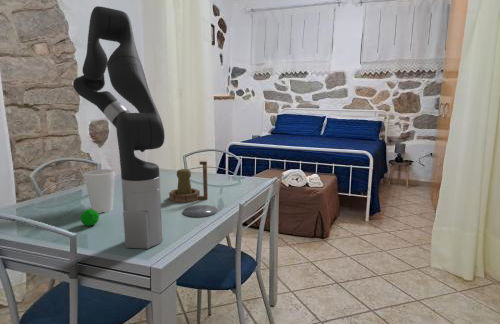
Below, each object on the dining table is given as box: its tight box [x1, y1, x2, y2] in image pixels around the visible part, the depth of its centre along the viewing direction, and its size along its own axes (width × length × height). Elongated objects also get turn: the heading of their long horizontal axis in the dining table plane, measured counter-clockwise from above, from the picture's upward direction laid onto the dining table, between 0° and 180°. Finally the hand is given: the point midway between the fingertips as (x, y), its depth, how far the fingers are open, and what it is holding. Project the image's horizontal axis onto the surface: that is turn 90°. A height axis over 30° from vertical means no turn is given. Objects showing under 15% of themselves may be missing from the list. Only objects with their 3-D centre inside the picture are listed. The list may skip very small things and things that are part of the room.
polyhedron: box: [79, 208, 100, 227], centre depth 106 cm, size 5×5×5 cm
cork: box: [176, 168, 192, 195], centre depth 133 cm, size 6×6×11 cm
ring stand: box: [168, 160, 209, 203], centre depth 133 cm, size 10×14×14 cm
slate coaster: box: [183, 204, 218, 218], centre depth 118 cm, size 11×11×1 cm
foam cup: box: [83, 168, 116, 214], centre depth 120 cm, size 10×9×13 cm
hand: (150, 148), depth 132 cm, fingers open, 8 cm apart
